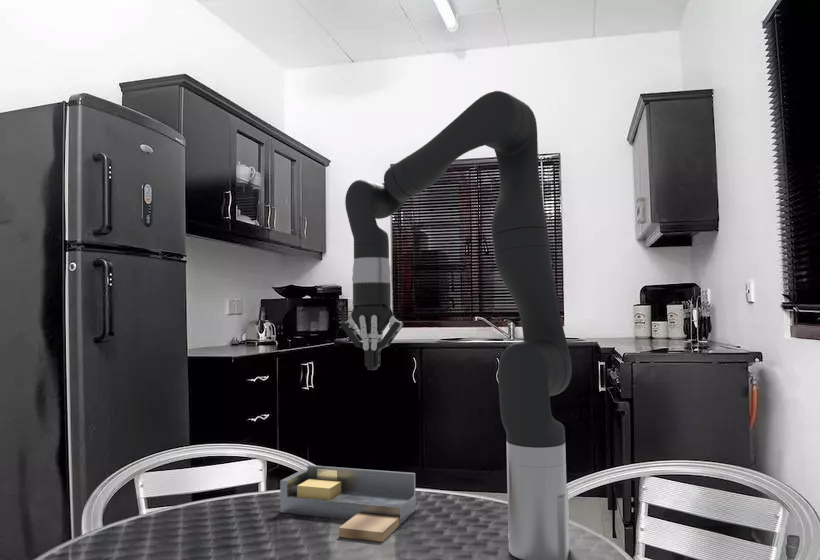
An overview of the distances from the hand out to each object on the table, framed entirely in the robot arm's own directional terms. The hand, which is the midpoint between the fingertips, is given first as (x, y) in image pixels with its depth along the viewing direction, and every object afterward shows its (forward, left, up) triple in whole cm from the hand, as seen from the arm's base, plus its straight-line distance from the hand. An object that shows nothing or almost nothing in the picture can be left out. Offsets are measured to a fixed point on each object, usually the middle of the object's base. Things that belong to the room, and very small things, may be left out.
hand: (372, 369), depth 119 cm
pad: (-4, +11, -27) cm, 30 cm away
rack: (+4, +3, -27) cm, 27 cm away
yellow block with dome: (+7, +3, -25) cm, 26 cm away
